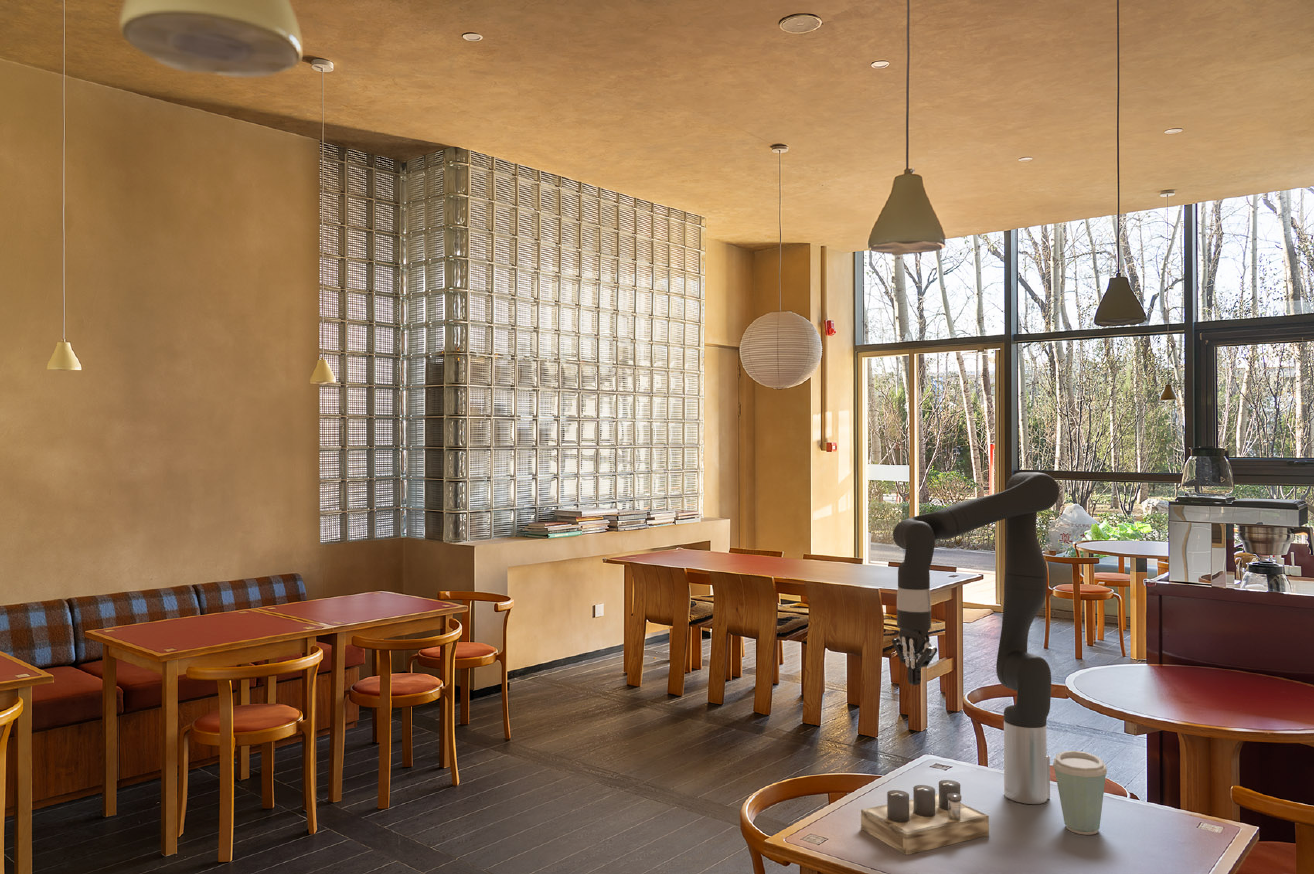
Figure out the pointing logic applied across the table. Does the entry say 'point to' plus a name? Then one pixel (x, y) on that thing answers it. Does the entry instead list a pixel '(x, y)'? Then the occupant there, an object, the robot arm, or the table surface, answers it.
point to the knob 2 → (946, 788)
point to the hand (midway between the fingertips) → (914, 684)
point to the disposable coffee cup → (1080, 790)
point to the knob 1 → (898, 806)
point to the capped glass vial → (954, 806)
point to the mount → (924, 828)
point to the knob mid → (924, 800)
